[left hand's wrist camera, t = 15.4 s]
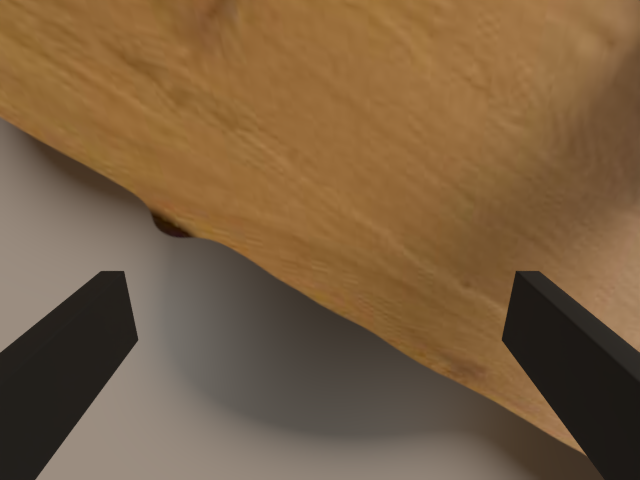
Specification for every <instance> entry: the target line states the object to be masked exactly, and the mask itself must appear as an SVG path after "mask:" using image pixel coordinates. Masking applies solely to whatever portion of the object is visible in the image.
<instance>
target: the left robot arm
mask: <svg viewBox="0 0 640 480" xmlns="http://www.w3.org/2000/svg"><path fill="white" fill-rule="evenodd" d="M137 341H138V336H137V331H136V326H135V322H134V317H133V312H132V307H131V302H130V298H129V293H128V288H127V283H126V278H125V274H124V271H101V272H99V273H98V274H97V275H96V276H94V277H93V278H92V279H91V280H90V281H88V282H87V283H86V284H85V285H83V286H82V287H81V288H80V289H78V290H77V291H76V292H75V293H73V294H72V295H71V296H70V297H69V298H67V299H66V300H65V301H64V302H62V303H61V304H60V305H59V306H57V307H56V308H55V309H54V310H52V311H51V312H50V313H49V314H48V315H46V316H45V317H44V318H43V319H41V320H40V321H39V322H38V323H36V324H35V325H34V326H33V327H31V328H30V329H29V330H28V331H27V332H25V333H24V334H23V335H22V336H20V337H19V338H18V339H17V340H15V341H14V342H13V343H12V344H10V345H9V346H8V347H7V348H6V349H4V350H3V351H2V352H1V353H0V480H35V479H36V478H37V477H38V475H39V474H40V472H41V471H42V470H43V468H44V467H45V466H46V464H47V463H48V462H49V460H50V459H51V458H52V456H53V455H54V454H55V452H56V451H57V449H58V448H59V447H60V445H61V444H62V443H63V441H64V440H65V439H66V437H67V436H68V435H69V433H70V432H71V430H72V429H73V428H74V426H75V425H76V424H77V422H78V421H79V420H80V418H81V417H82V415H83V414H84V413H85V412H86V410H87V409H88V407H89V406H90V405H91V403H92V402H93V401H94V399H95V398H96V397H97V395H98V394H99V392H100V391H101V390H102V389H103V387H104V386H105V384H106V383H107V382H108V380H109V379H110V378H111V376H112V375H113V374H114V372H115V371H116V370H117V368H118V367H119V365H120V364H121V363H122V361H123V360H124V359H125V357H126V356H127V355H128V353H129V352H130V351H131V349H132V348H133V347H134V345H135V344H136V342H137ZM502 341H503V342H504V344H505V345H506V347H507V348H508V349H509V351H510V352H511V353H512V355H513V356H514V357H515V359H516V360H517V361H518V363H519V364H520V365H521V367H522V368H523V370H524V371H525V372H526V374H527V375H528V376H529V378H530V379H531V380H532V382H533V383H534V384H535V386H536V387H537V389H538V390H539V391H540V393H541V394H542V395H543V397H544V398H545V399H546V401H547V402H548V403H549V405H550V406H551V407H552V409H553V410H554V412H555V413H556V414H557V416H558V417H559V418H560V420H561V421H562V422H563V424H564V425H565V426H566V428H567V429H568V431H569V432H570V433H571V435H572V436H573V437H574V439H575V440H576V441H577V443H578V444H579V445H580V447H581V448H582V449H583V451H584V452H585V454H586V455H587V456H588V458H589V459H590V460H591V462H592V463H593V464H594V466H595V467H596V468H597V470H598V471H599V473H600V474H601V475H602V477H603V478H604V479H605V480H640V353H639V352H638V351H637V350H636V349H634V348H633V347H632V346H631V345H630V344H628V343H627V342H626V341H625V340H623V339H622V338H621V337H620V336H618V335H617V334H616V333H615V332H613V331H612V330H611V329H610V328H609V327H607V326H606V325H605V324H604V323H602V322H601V321H600V320H599V319H597V318H596V317H595V316H594V315H592V314H591V313H590V312H589V311H588V310H586V309H585V308H584V307H583V306H581V305H580V304H579V303H578V302H576V301H575V300H574V299H573V298H571V297H570V296H569V295H568V294H567V293H565V292H564V291H563V290H562V289H560V288H559V287H558V286H557V285H555V284H554V283H553V282H552V281H551V280H549V279H548V278H547V277H546V276H544V275H543V274H542V273H541V272H539V271H516V273H515V278H514V283H513V288H512V293H511V298H510V302H509V307H508V312H507V317H506V322H505V326H504V331H503V336H502Z"/></svg>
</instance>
